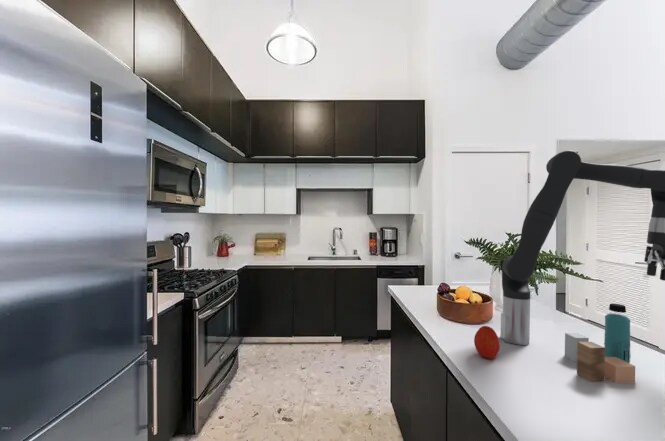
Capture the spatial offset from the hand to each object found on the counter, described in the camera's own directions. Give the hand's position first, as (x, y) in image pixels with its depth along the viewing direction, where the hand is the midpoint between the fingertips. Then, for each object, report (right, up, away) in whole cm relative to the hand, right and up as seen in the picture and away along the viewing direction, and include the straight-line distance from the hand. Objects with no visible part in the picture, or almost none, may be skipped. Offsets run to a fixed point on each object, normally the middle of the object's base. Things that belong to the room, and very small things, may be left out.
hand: (657, 277), depth 108 cm
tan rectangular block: (-35, -28, -14) cm, 46 cm away
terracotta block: (-27, -28, -13) cm, 41 cm away
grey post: (-29, -28, -1) cm, 40 cm away
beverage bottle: (-19, -28, -5) cm, 34 cm away
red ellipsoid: (-59, -27, 0) cm, 65 cm away
